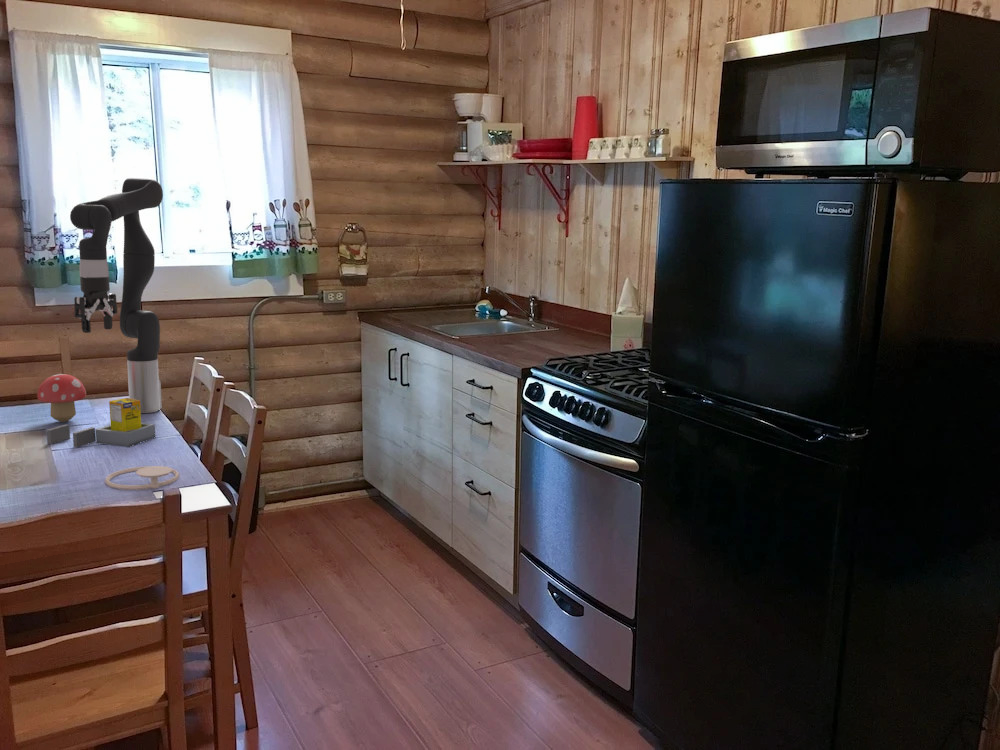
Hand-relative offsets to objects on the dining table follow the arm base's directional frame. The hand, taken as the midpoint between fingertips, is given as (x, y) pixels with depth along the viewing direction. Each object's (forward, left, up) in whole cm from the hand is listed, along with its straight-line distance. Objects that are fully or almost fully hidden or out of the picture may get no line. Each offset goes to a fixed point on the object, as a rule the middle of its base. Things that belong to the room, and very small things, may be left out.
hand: (97, 330), depth 241 cm
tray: (+7, +14, -30) cm, 34 cm away
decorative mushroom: (-4, -18, -30) cm, 35 cm away
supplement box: (+6, +14, -30) cm, 33 cm away
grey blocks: (+14, +2, -30) cm, 33 cm away
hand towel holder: (+35, +43, -31) cm, 63 cm away
